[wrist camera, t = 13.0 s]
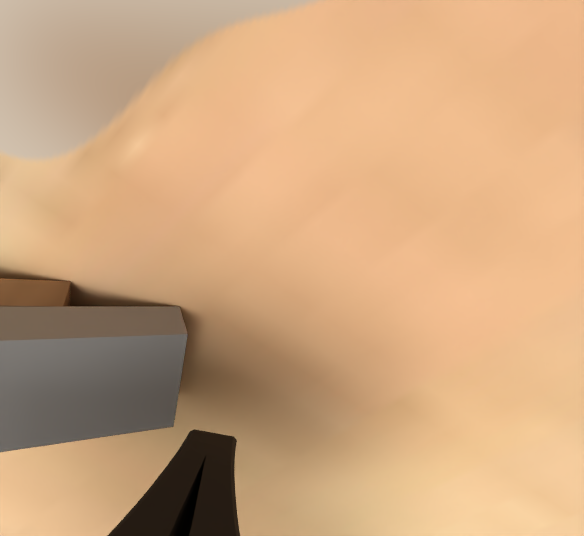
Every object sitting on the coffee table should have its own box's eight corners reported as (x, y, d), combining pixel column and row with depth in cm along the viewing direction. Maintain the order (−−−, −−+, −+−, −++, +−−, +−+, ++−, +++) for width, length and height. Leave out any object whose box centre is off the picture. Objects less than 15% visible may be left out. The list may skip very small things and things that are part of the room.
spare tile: (173, 426, 15) (-101, 466, 11) (167, 392, 16) (-75, 417, 13) (187, 334, 13) (-126, 345, 9) (179, 306, 15) (-92, 306, 11)
